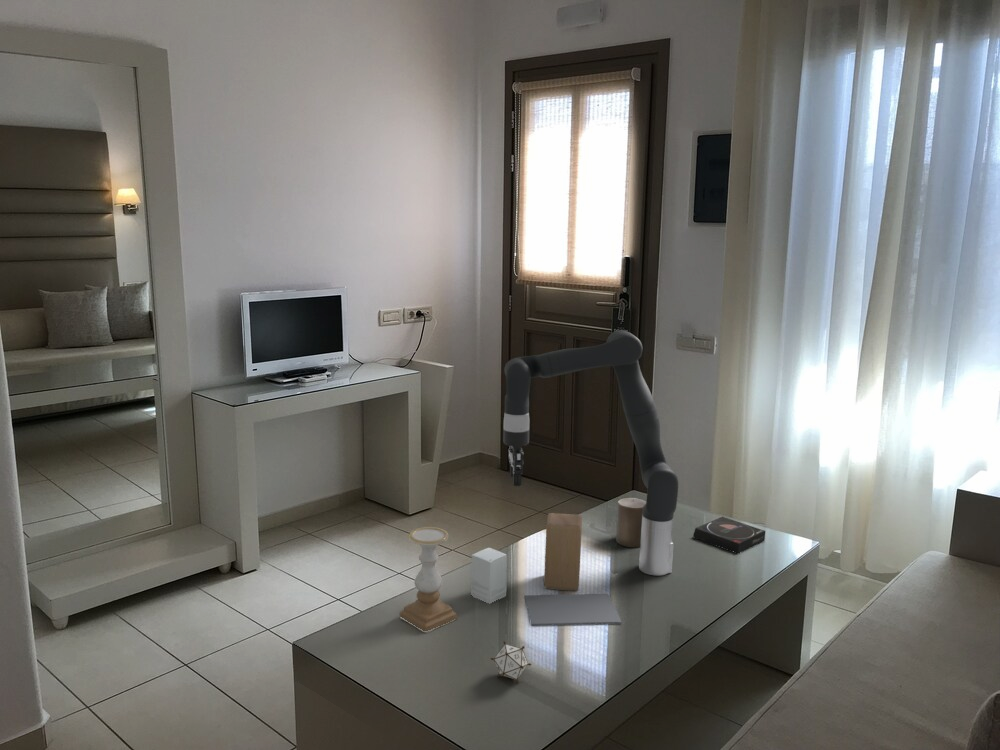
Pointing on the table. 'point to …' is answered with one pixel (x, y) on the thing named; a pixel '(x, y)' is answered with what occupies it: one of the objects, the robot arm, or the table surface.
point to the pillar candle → (629, 522)
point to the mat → (571, 609)
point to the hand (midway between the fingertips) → (515, 480)
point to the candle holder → (428, 583)
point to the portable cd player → (730, 534)
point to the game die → (510, 661)
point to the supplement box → (489, 575)
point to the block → (563, 551)
